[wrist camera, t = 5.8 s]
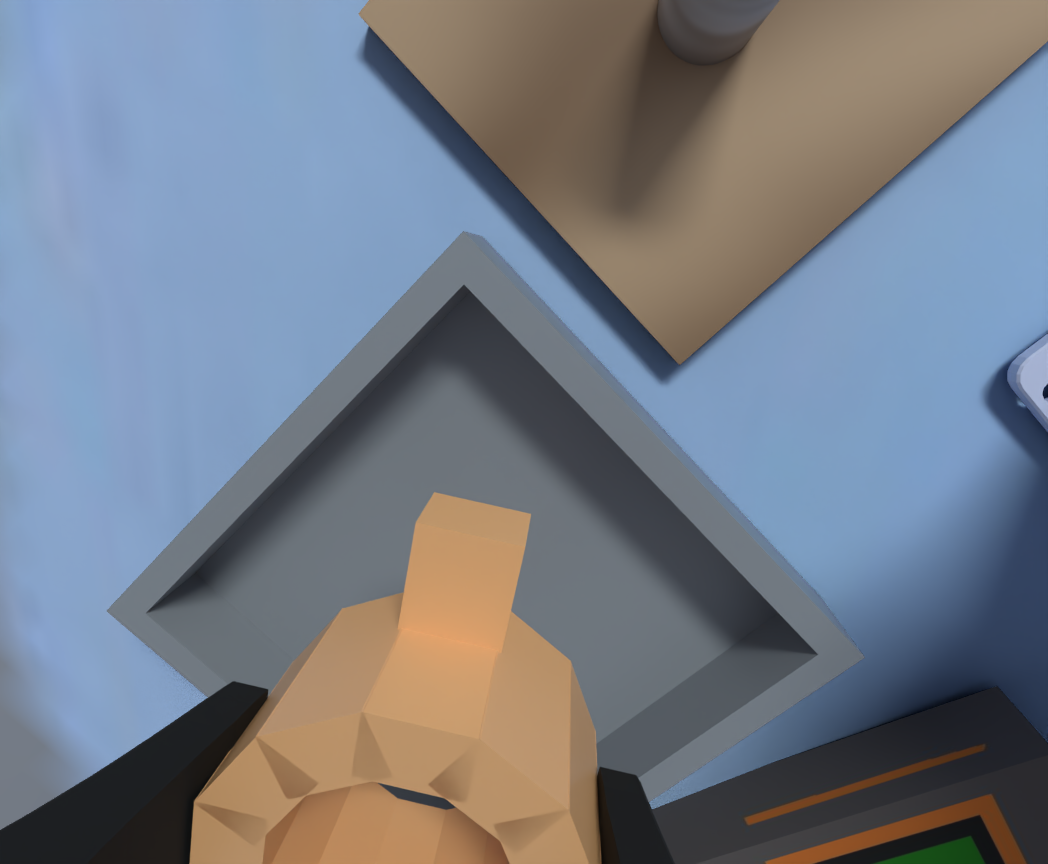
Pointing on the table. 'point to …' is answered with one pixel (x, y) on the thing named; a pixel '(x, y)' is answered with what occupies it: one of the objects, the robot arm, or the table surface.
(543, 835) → the ring
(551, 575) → the tray
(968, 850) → the electronic device
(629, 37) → the tan square plate
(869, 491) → the table surface
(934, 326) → the table surface
